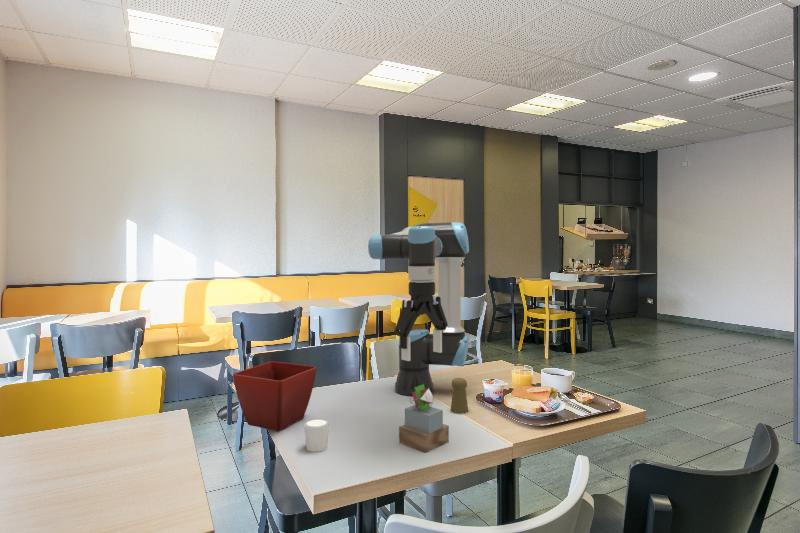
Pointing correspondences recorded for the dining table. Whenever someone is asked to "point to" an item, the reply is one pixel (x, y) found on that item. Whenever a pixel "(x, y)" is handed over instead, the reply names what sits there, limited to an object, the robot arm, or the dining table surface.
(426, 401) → the geometric puzzle
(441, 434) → the tower base block
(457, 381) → the cork
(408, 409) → the tower top block
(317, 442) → the white cup
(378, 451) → the dining table surface
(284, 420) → the plant pot
